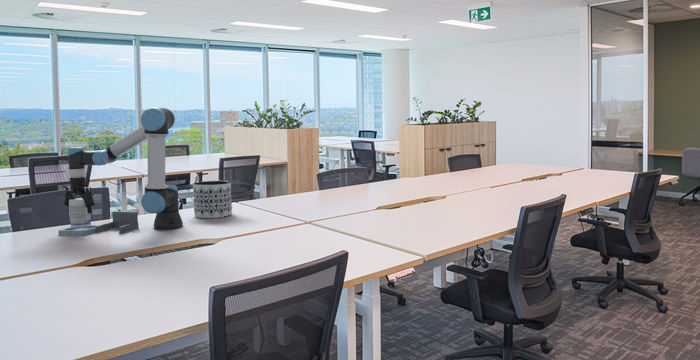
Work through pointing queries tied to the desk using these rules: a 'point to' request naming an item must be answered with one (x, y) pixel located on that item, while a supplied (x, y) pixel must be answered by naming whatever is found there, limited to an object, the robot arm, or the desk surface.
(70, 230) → the tray
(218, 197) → the planter
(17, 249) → the desk surface
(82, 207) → the supplement tub
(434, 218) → the desk surface
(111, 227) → the bay
